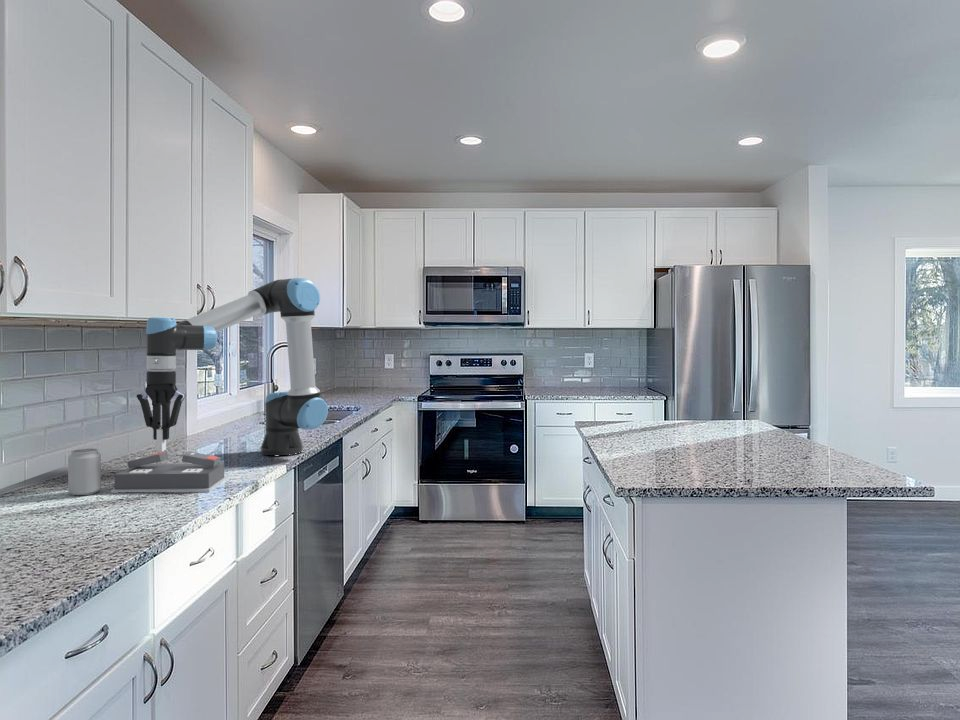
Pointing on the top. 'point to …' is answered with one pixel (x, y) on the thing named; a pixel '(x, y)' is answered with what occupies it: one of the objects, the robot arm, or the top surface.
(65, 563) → the top surface
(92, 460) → the can
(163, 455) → the rocker
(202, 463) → the block
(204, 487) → the power strip
